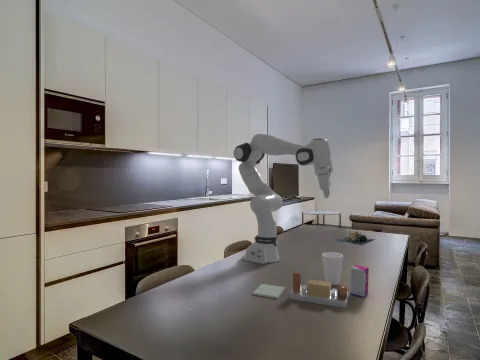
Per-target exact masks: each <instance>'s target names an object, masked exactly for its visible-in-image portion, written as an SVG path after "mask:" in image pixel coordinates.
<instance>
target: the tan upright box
mask: <svg viewBox="0 0 480 360" xmlns="http://www.w3.org/2000/svg"><path fill="white" fill-rule="evenodd" d="M306 285H307V293H309V294H316V295H323V296H329V297H330V294H331V290H332V285H331V282H326V281H325V280H317V279H309V278H308V281H307V282H306Z"/></svg>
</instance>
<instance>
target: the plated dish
mask: <svg viewBox="0 0 480 360" xmlns="http://www.w3.org/2000/svg"><path fill="white" fill-rule="evenodd" d="M375 240H376V239H375V238H367V235H364V234H362V233H361V232H360V231H358V228H357V229H356V231H354V232H353V231H352V232H349V234H348V237H347V236H345V237H343V238H337V239H335V240H333V242H334V241H335V242H340V243H349V244H351V245H358V246H364V245H367V244H368V243H370V242H371V243H372V242H373V241H375Z"/></svg>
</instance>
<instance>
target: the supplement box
mask: <svg viewBox="0 0 480 360" xmlns="http://www.w3.org/2000/svg"><path fill="white" fill-rule="evenodd" d="M369 269H370V268H369V266H368V267H367V266H365V265H364V266H363V265H358V264H354V265H353V266H352V267H350V287H349V288H350V291H349V295H352V296H355V297H358V298H365V297H366V296H367V295H368V294H369Z"/></svg>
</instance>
